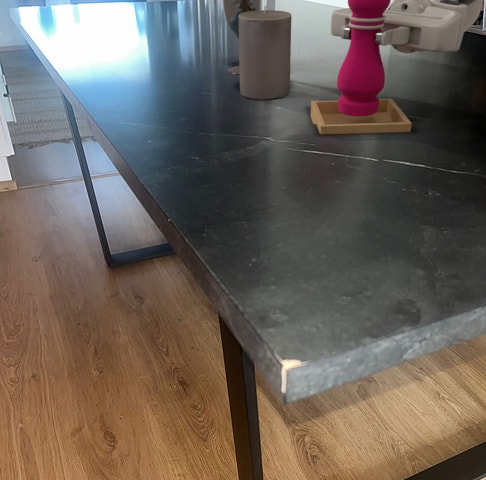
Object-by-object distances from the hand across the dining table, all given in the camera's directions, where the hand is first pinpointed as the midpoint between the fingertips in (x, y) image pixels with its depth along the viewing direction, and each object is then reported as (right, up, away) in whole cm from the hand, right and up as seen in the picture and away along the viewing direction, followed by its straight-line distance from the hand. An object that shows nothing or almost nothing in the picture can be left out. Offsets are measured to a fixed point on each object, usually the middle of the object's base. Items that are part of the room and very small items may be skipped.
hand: (362, 36), depth 77 cm
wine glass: (-17, +11, +40) cm, 45 cm away
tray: (+1, -11, +8) cm, 14 cm away
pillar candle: (-13, +1, +26) cm, 29 cm away
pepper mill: (+1, -9, +7) cm, 11 cm away
